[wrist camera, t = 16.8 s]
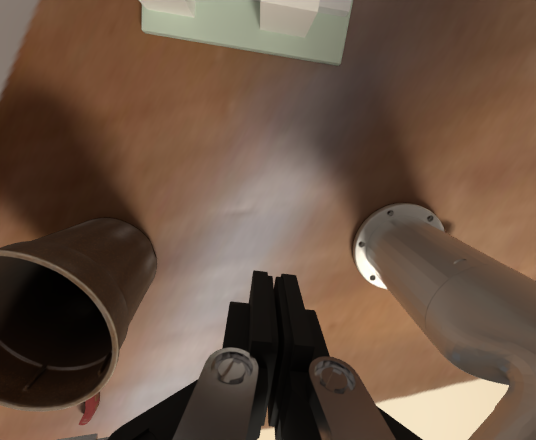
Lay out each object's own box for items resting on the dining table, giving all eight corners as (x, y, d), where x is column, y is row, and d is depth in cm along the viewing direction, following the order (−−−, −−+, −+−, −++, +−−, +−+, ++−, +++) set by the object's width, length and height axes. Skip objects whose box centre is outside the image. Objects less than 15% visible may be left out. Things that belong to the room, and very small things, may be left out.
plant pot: (39, 287, 40) (-95, 383, 25) (63, 182, 36) (-81, 219, 21) (152, 323, 43) (92, 431, 27) (187, 228, 39) (140, 293, 23)
